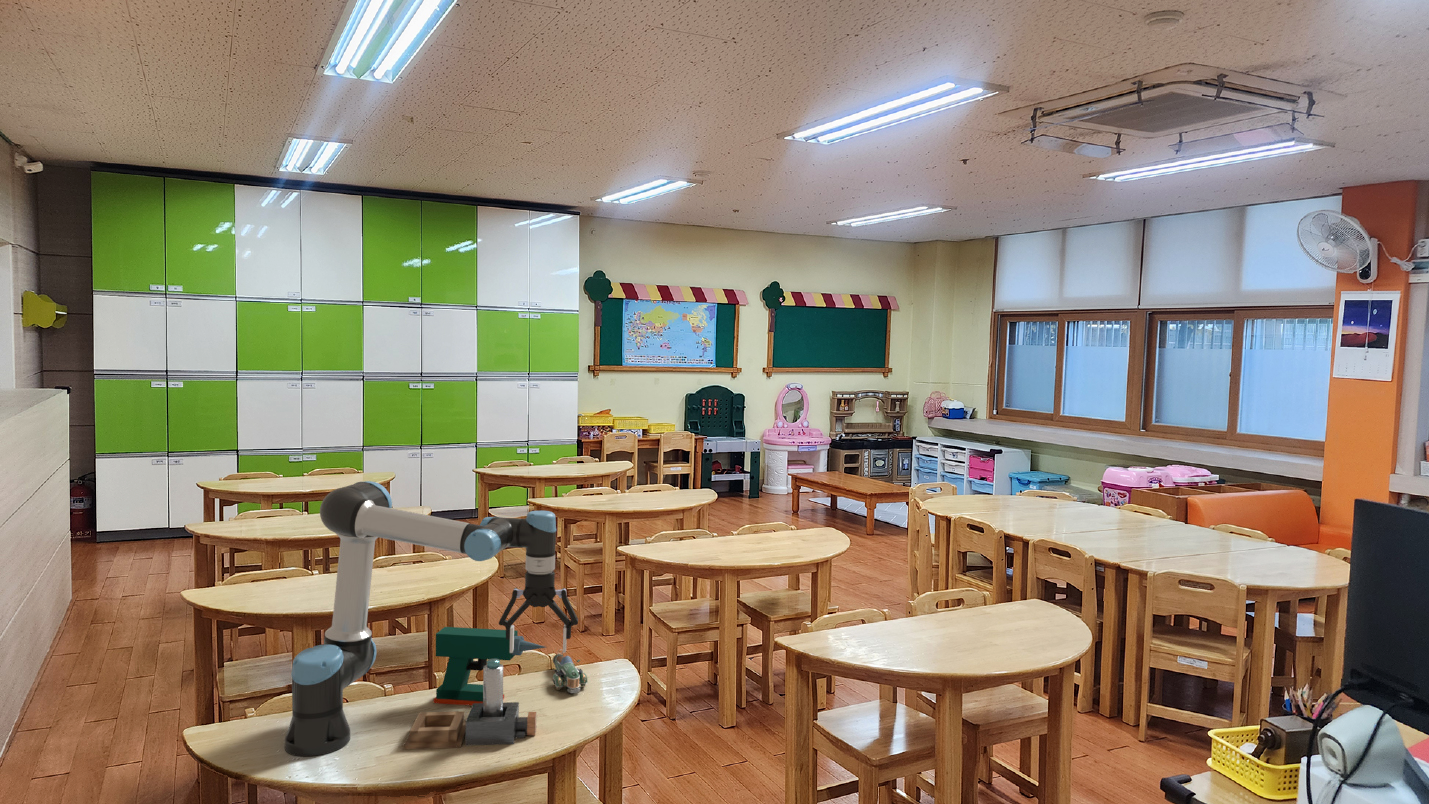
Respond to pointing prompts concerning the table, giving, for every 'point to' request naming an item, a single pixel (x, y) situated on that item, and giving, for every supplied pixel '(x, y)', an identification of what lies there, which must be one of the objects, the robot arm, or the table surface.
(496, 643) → the power tool
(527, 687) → the table surface
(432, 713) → the frame
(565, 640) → the robot arm
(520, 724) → the block
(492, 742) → the socket block
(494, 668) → the peg
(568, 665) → the hoverbike
